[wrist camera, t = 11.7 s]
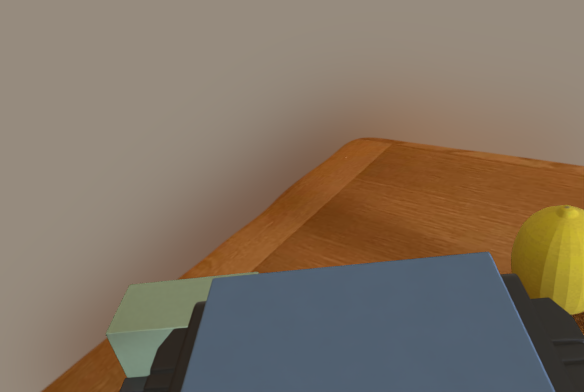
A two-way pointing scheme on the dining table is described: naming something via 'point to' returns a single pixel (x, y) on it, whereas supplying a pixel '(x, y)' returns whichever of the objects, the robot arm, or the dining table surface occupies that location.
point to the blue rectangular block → (366, 331)
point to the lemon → (552, 256)
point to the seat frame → (152, 322)
